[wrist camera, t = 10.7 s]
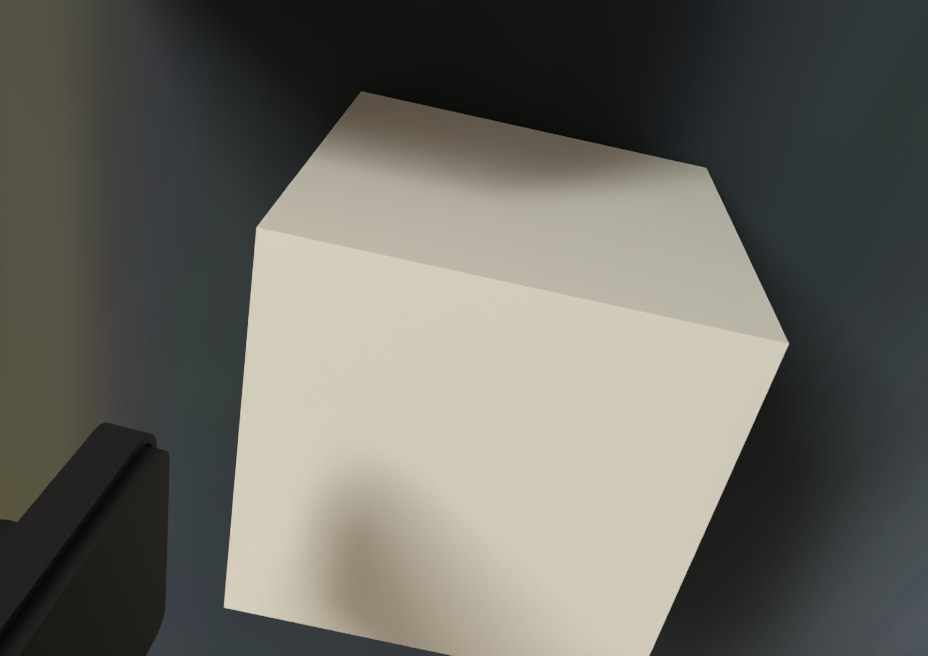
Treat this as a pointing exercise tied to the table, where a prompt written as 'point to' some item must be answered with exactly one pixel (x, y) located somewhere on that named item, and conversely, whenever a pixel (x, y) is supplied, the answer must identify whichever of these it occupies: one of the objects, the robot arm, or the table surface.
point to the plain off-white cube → (489, 387)
